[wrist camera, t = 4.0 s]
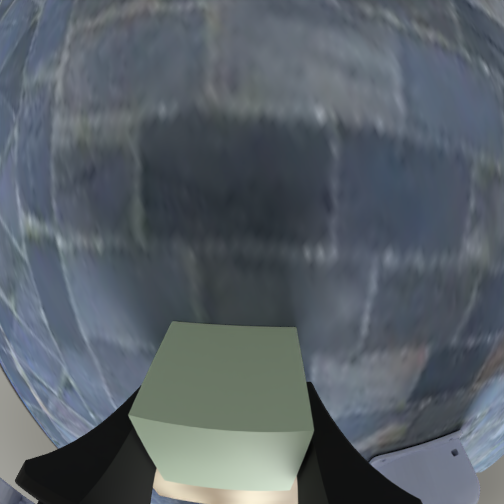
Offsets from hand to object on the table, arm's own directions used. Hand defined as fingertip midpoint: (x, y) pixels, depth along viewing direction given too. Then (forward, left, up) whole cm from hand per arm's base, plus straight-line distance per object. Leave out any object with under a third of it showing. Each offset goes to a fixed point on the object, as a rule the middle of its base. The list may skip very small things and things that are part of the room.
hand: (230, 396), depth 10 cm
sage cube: (0, 0, -2) cm, 2 cm away
